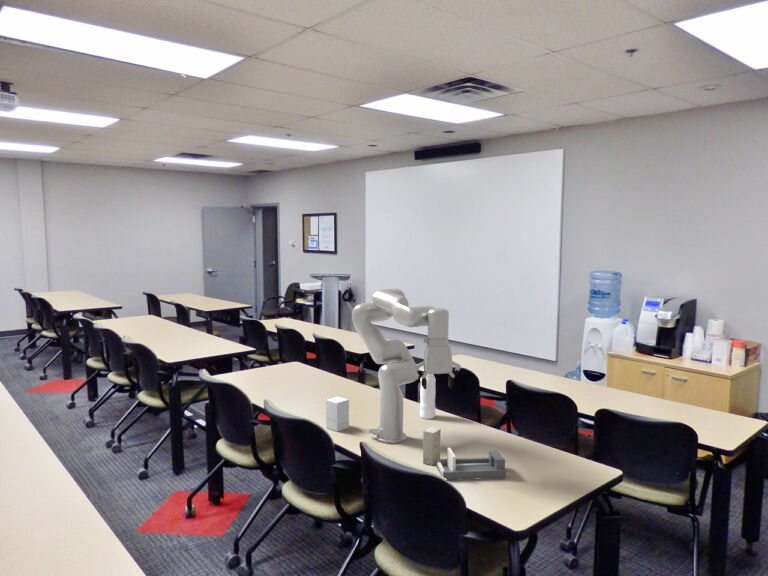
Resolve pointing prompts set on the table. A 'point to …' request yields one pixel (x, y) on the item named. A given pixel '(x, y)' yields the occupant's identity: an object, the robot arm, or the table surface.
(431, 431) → the skincare box
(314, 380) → the table surface
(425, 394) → the water bottle
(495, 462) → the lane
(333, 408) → the supplement box
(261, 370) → the table surface
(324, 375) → the table surface
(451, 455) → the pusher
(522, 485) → the table surface
